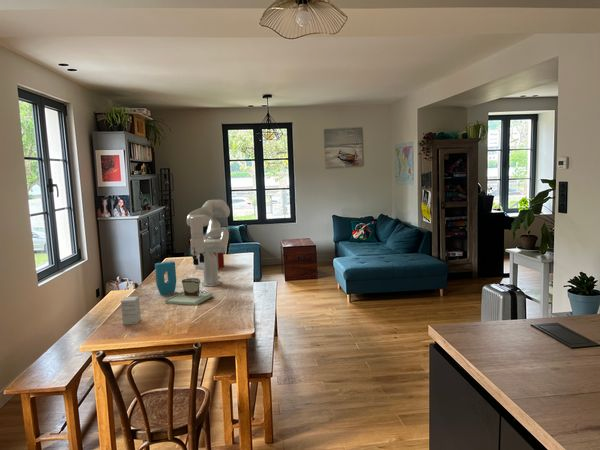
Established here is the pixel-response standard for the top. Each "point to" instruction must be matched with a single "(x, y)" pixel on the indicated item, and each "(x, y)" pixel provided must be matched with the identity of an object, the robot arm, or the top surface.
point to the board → (187, 299)
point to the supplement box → (130, 310)
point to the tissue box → (218, 255)
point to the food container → (191, 286)
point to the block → (160, 282)
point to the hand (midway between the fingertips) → (199, 263)
